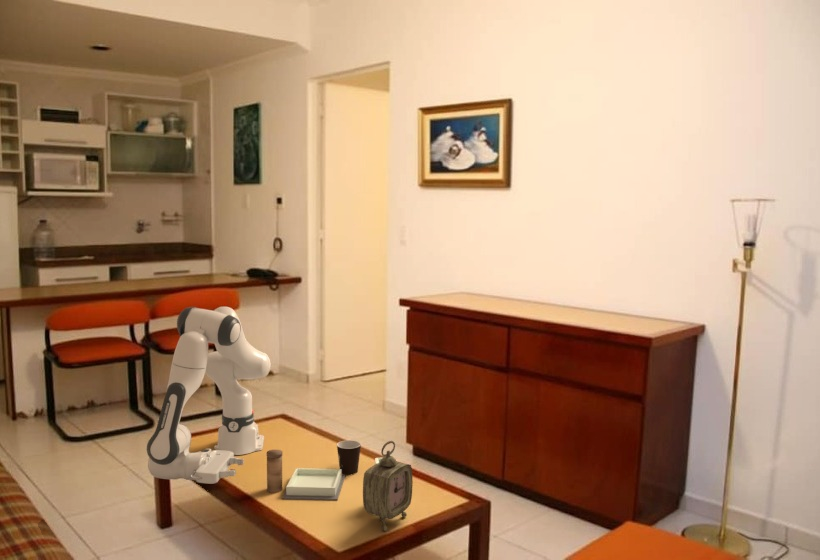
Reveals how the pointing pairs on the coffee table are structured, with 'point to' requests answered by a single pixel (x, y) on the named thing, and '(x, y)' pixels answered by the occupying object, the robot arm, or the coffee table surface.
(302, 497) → the mat
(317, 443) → the coffee table surface
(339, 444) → the coffee mug
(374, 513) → the tabletop clock
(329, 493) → the dish
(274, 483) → the canister
